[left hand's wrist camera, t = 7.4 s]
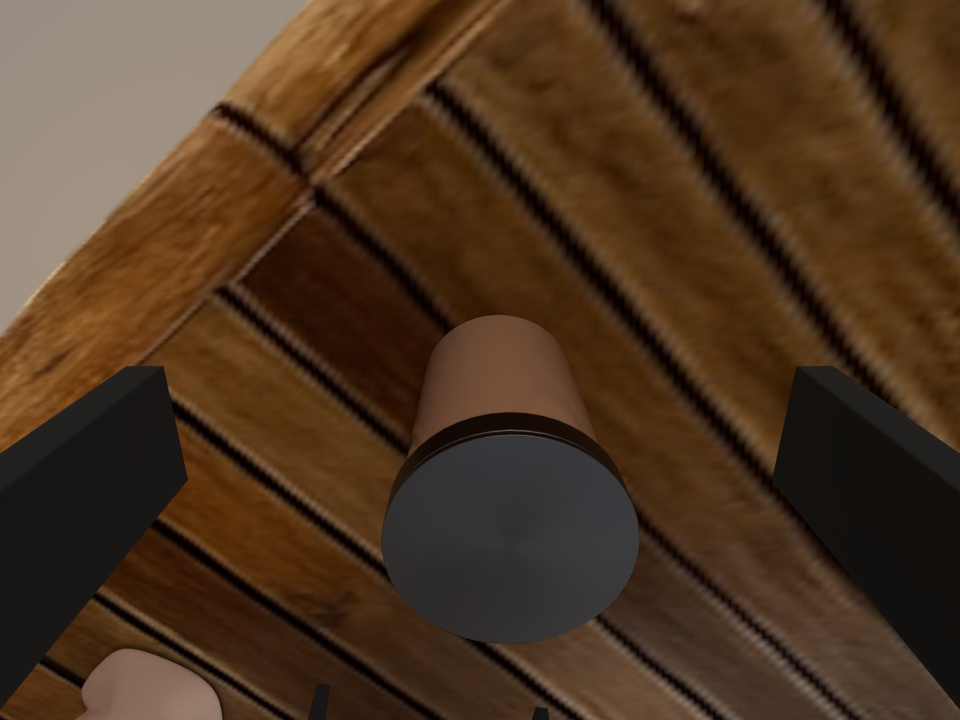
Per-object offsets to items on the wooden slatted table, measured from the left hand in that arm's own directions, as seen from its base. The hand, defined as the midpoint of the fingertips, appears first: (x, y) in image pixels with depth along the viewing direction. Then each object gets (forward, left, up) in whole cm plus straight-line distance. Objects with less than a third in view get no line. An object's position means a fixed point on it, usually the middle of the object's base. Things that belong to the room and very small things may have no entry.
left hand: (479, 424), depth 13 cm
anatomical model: (-8, +46, -23) cm, 52 cm away
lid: (-8, +6, -8) cm, 12 cm away
